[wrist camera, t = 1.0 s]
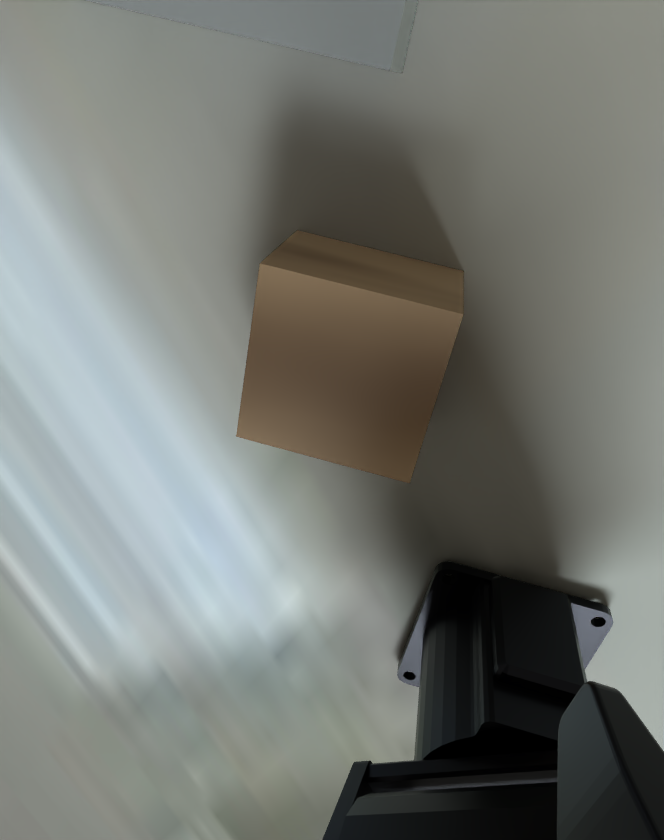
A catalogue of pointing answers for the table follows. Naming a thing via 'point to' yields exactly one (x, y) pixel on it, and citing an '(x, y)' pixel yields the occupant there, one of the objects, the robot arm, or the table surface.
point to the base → (301, 24)
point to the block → (348, 352)
